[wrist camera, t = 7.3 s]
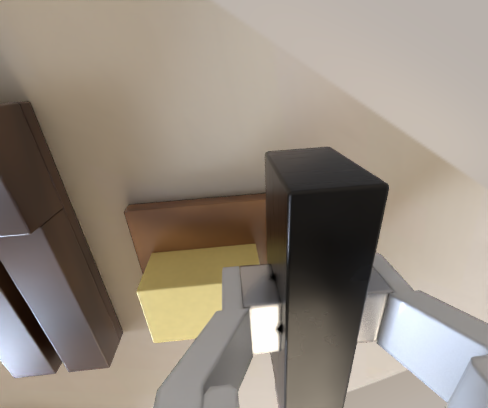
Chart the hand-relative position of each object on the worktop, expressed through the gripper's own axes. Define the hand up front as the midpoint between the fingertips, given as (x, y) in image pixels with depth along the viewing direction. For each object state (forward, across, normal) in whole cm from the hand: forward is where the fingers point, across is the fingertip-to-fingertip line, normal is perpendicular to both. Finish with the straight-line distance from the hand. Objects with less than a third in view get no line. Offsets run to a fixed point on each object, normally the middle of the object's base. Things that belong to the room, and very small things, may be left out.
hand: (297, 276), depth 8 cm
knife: (+4, 0, +4) cm, 6 cm away
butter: (+8, +4, +7) cm, 12 cm away
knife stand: (+9, +16, +4) cm, 19 cm away
